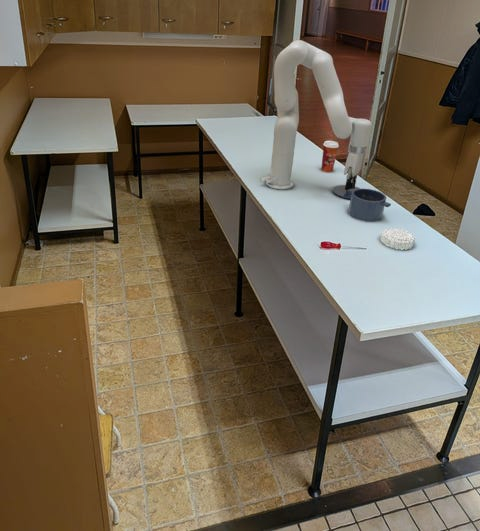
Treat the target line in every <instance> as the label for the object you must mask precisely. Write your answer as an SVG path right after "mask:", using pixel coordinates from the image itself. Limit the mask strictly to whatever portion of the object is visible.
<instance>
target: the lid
mask: <svg viewBox="0 0 480 531" xmlns="http://www.w3.org/2000/svg"><path fill="white" fill-rule="evenodd" d="M353 182H354V181H353ZM345 185H346V184H339V185H338V184H337V185H335V186H333V187H332V193H333V194H334V195H336V196H338V197H341V198H344V199H347V200H351V195H352V194H351V193H349V192H347V191H348V190H345ZM353 185H354V183H353ZM352 189H353V188H352ZM356 189H362V188H361V187H357V186H355V188H354V189H353V190H356Z"/></svg>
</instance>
